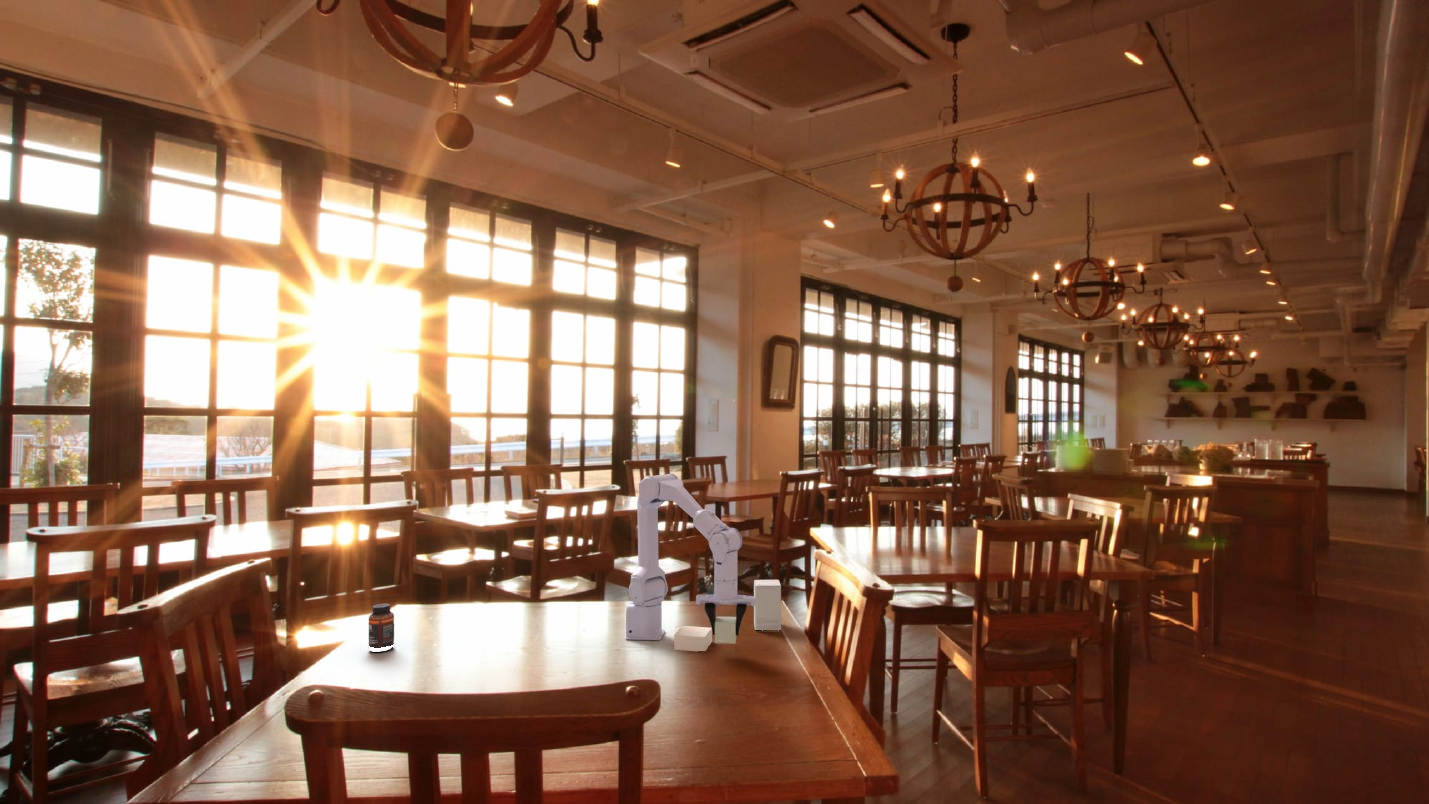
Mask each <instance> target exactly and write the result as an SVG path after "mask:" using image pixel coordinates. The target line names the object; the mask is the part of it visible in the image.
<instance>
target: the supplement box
mask: <svg viewBox="0 0 1429 804" xmlns="http://www.w3.org/2000/svg"><path fill="white" fill-rule="evenodd" d="M753 596H755V606H753V626H754V631H755V630H762V631H761V632H764V631H763V630H778V631H777V632H780V631H779V630H781V631H782V586H781V583H780V579H754V580H753Z"/></svg>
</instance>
